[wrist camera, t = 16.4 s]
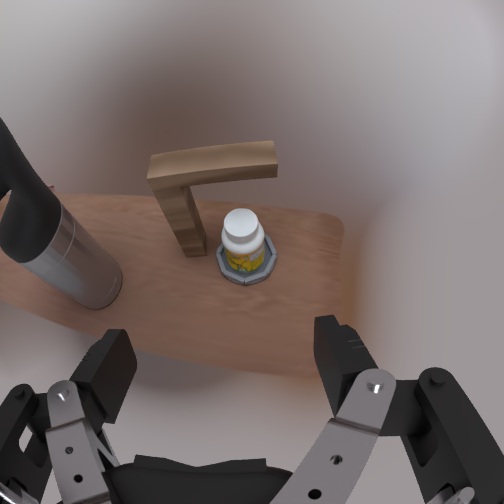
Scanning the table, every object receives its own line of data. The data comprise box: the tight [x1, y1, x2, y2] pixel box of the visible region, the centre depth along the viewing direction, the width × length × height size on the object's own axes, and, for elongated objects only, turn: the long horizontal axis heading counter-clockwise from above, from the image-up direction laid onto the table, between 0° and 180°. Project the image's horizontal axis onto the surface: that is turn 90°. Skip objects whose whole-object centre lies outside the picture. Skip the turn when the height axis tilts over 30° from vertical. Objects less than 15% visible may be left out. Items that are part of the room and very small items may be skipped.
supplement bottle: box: [221, 208, 265, 274], centre depth 37 cm, size 5×5×10 cm
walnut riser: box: [147, 141, 278, 257], centre depth 35 cm, size 4×13×18 cm, turn 95°
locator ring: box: [216, 233, 277, 285], centre depth 41 cm, size 8×8×2 cm
